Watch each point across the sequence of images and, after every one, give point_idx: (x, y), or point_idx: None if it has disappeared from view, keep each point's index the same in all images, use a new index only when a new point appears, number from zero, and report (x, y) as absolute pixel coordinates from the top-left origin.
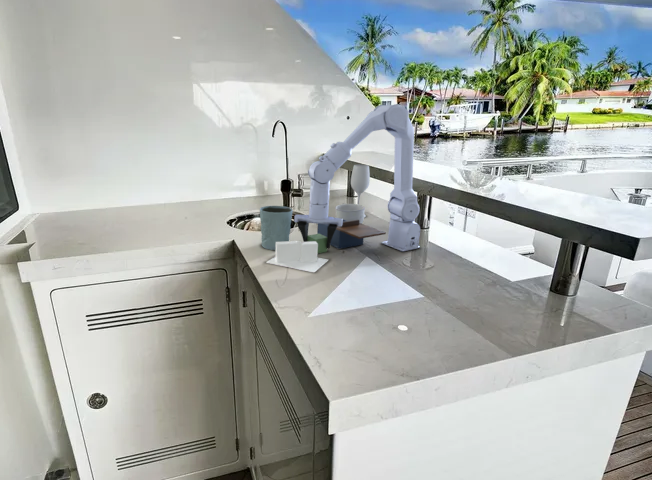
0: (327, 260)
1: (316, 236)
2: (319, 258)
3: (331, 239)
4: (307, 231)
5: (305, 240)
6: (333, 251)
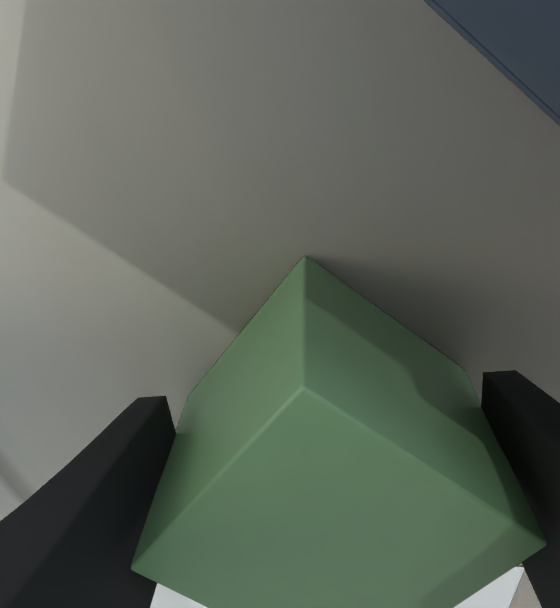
0: (510, 586)
1: (314, 567)
2: None
3: (534, 69)
4: (77, 584)
5: None
6: (554, 326)
